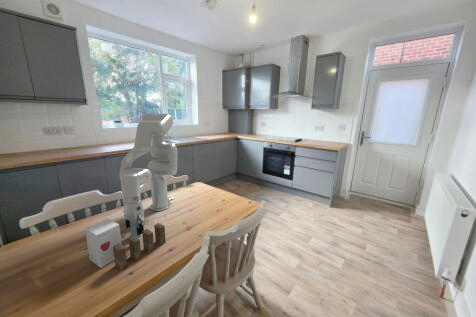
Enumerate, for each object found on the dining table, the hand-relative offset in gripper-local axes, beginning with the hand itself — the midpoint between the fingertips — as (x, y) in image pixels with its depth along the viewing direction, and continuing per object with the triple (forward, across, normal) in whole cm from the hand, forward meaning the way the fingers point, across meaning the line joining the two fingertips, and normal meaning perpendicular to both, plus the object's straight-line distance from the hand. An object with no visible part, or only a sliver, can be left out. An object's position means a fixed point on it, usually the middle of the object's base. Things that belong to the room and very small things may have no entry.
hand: (135, 230), depth 94 cm
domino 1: (+4, -14, +14) cm, 20 cm away
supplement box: (+4, -4, +15) cm, 16 cm away
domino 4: (+4, -14, +2) cm, 14 cm away
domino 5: (+4, -14, -4) cm, 15 cm away
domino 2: (+4, 0, 0) cm, 4 cm away
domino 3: (+4, -14, +8) cm, 16 cm away
